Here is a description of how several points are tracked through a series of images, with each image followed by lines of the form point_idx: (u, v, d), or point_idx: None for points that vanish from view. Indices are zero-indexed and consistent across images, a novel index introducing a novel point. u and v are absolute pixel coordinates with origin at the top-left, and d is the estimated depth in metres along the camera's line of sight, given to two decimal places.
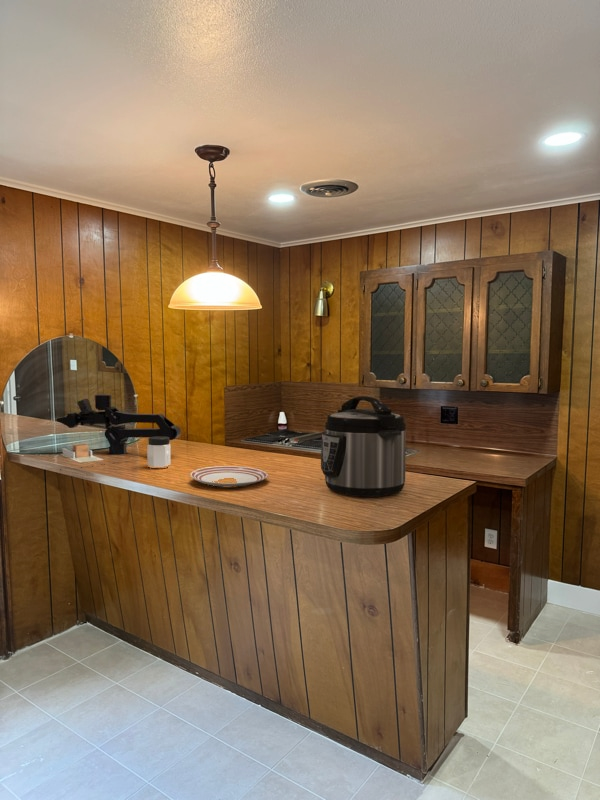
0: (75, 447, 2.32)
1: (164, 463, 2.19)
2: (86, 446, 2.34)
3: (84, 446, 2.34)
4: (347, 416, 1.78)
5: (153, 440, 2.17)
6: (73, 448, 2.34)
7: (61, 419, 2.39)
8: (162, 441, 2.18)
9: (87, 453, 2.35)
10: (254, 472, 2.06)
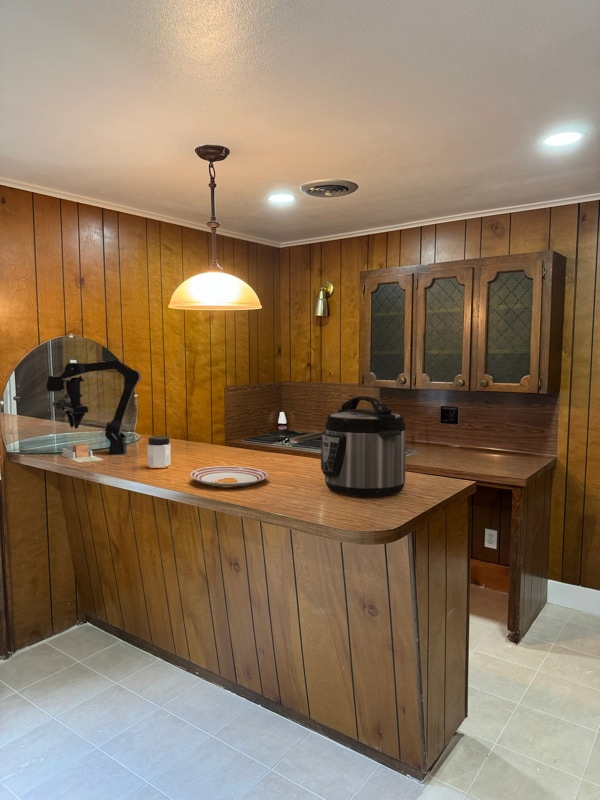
0: (75, 447, 2.32)
1: (164, 463, 2.19)
2: (86, 446, 2.34)
3: (84, 446, 2.34)
4: (347, 416, 1.78)
5: (153, 440, 2.17)
6: (73, 448, 2.34)
7: (76, 422, 2.37)
8: (162, 441, 2.18)
9: (87, 453, 2.35)
10: (254, 472, 2.06)
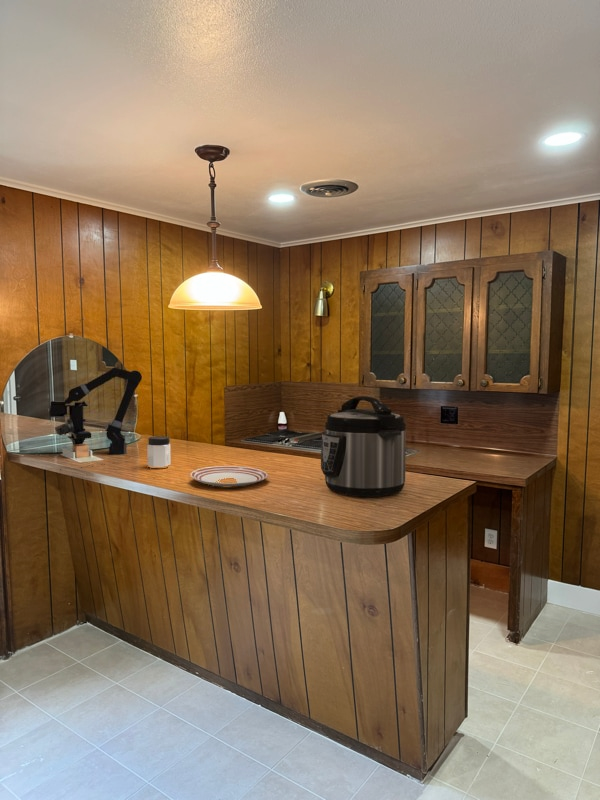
0: (75, 447, 2.32)
1: (164, 463, 2.19)
2: (86, 446, 2.34)
3: (84, 446, 2.33)
4: (347, 416, 1.78)
5: (153, 440, 2.17)
6: (73, 448, 2.34)
7: None
8: (162, 441, 2.18)
9: (87, 453, 2.34)
10: (254, 472, 2.06)
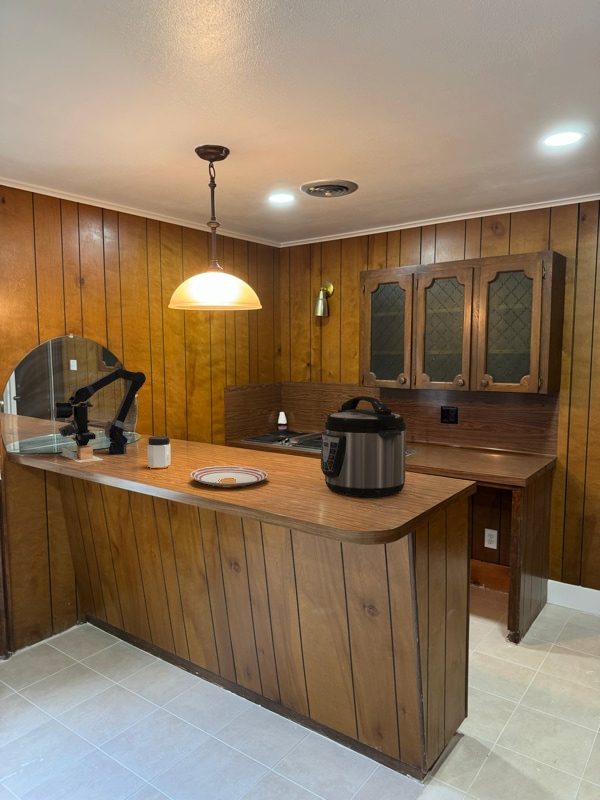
0: (79, 449, 2.28)
1: (164, 463, 2.19)
2: (90, 448, 2.30)
3: (88, 448, 2.29)
4: (347, 416, 1.78)
5: (153, 440, 2.17)
6: (77, 450, 2.30)
7: None
8: (162, 441, 2.18)
9: (91, 455, 2.30)
10: (254, 472, 2.06)
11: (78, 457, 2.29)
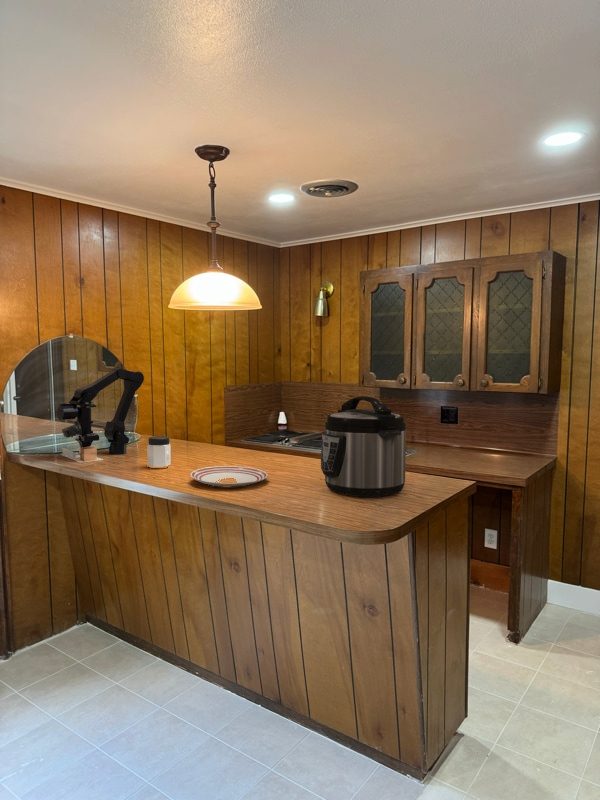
0: (83, 450, 2.25)
1: (164, 463, 2.19)
2: (94, 449, 2.27)
3: (92, 449, 2.26)
4: (347, 416, 1.78)
5: (153, 440, 2.17)
6: (81, 451, 2.27)
7: None
8: (162, 441, 2.18)
9: (95, 456, 2.27)
10: (254, 472, 2.06)
11: (82, 458, 2.26)
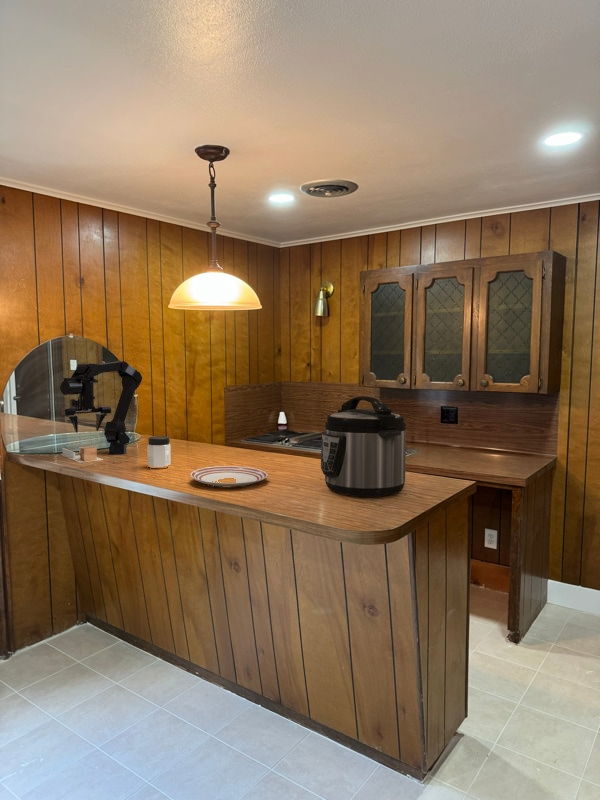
0: (83, 450, 2.25)
1: (164, 463, 2.19)
2: (94, 449, 2.27)
3: (92, 449, 2.26)
4: (347, 416, 1.78)
5: (153, 440, 2.17)
6: (81, 451, 2.27)
7: (73, 426, 2.25)
8: (162, 441, 2.18)
9: (95, 456, 2.27)
10: (254, 472, 2.06)
11: (82, 458, 2.26)
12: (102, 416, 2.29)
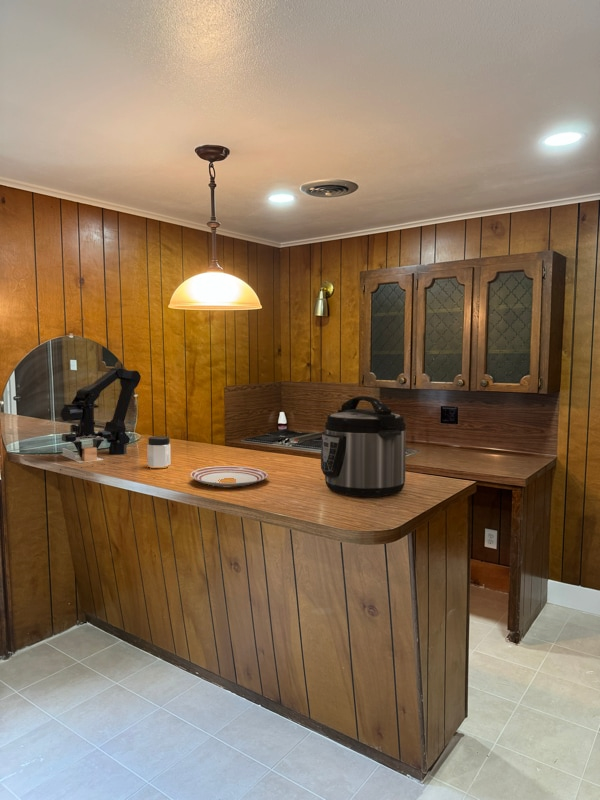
0: (83, 450, 2.25)
1: (164, 463, 2.19)
2: (94, 449, 2.27)
3: (92, 449, 2.26)
4: (347, 416, 1.78)
5: (153, 440, 2.17)
6: None
7: (78, 451, 2.27)
8: (162, 441, 2.18)
9: (95, 456, 2.27)
10: (254, 472, 2.06)
11: (82, 458, 2.26)
12: (99, 441, 2.29)
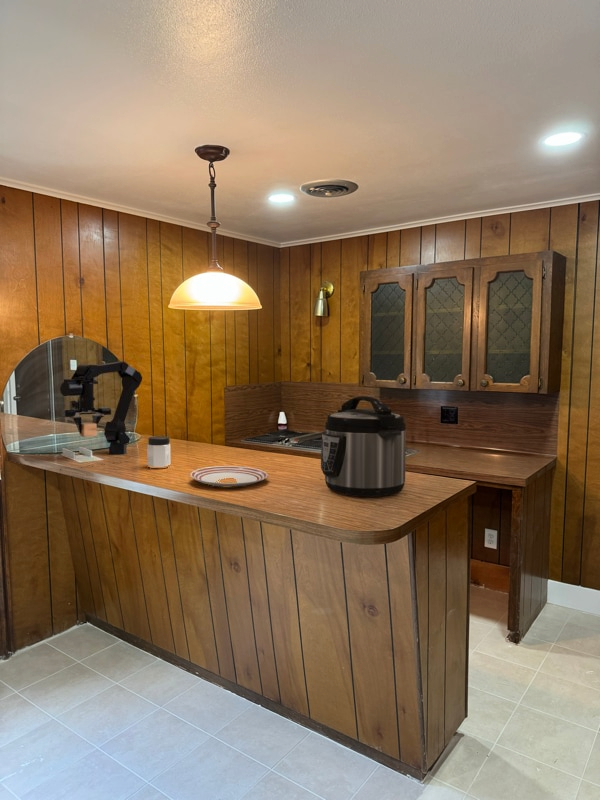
0: (83, 426, 2.24)
1: (164, 463, 2.19)
2: (94, 425, 2.26)
3: (92, 425, 2.26)
4: (347, 416, 1.78)
5: (153, 440, 2.17)
6: None
7: (77, 427, 2.26)
8: (162, 441, 2.18)
9: (95, 432, 2.27)
10: (254, 472, 2.06)
11: (82, 434, 2.26)
12: (98, 417, 2.29)
